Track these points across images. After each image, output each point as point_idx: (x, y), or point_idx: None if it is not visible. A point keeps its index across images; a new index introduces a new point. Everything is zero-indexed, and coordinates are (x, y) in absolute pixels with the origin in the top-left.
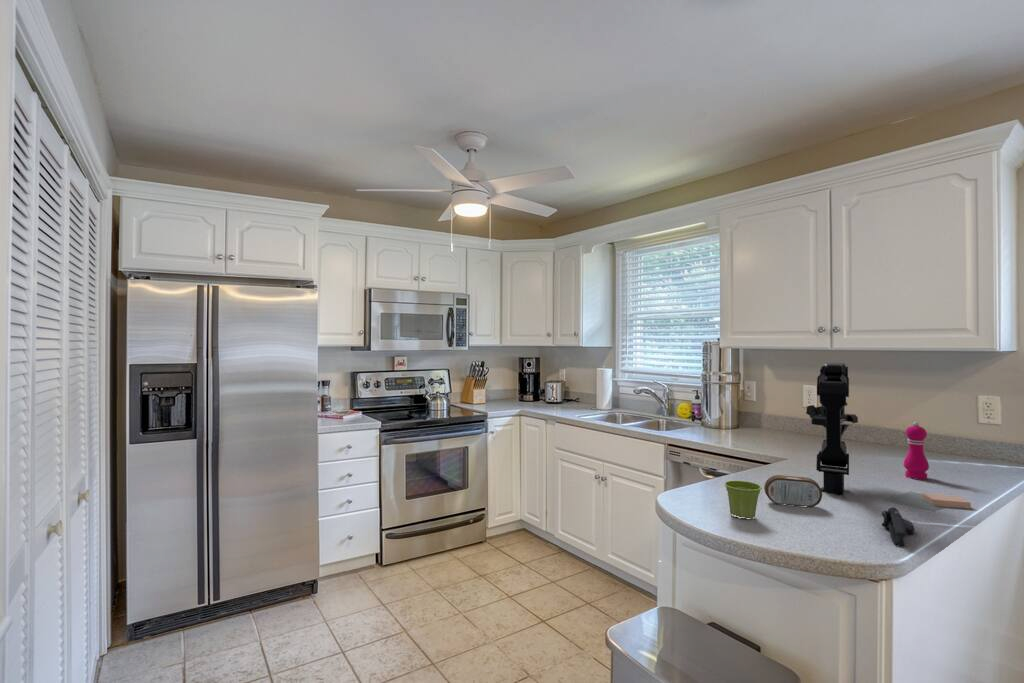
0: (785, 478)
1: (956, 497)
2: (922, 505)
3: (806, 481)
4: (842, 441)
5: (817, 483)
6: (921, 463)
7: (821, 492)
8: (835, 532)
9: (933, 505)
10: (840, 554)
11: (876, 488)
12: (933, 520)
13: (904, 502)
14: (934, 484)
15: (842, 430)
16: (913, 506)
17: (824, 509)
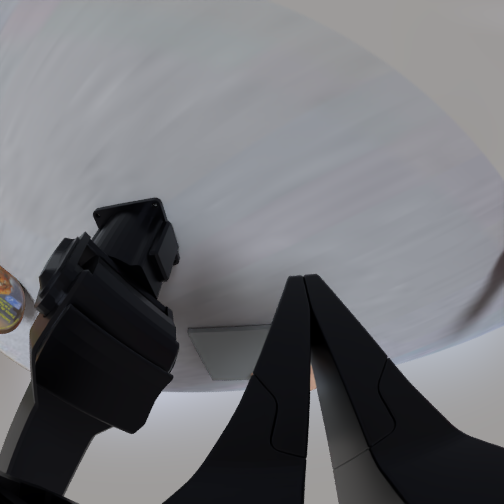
0: None
1: (313, 385)
2: (233, 367)
3: None
4: (123, 430)
5: (7, 329)
6: None
7: (17, 325)
8: (20, 341)
9: (252, 373)
10: (11, 355)
11: (327, 262)
12: (175, 382)
13: (217, 353)
14: (478, 287)
15: (334, 473)
16: (206, 365)
17: (34, 302)
